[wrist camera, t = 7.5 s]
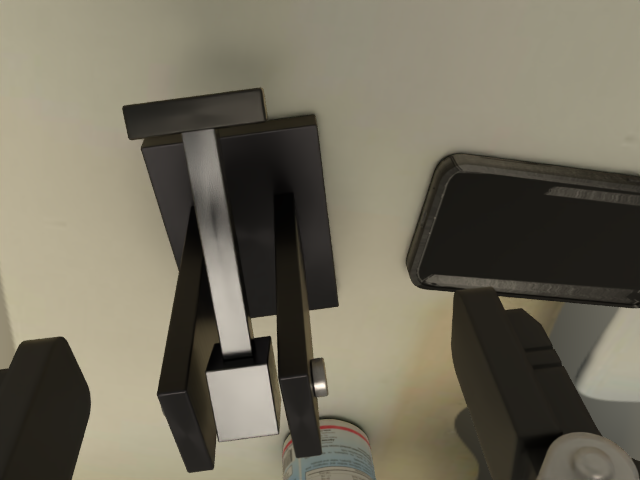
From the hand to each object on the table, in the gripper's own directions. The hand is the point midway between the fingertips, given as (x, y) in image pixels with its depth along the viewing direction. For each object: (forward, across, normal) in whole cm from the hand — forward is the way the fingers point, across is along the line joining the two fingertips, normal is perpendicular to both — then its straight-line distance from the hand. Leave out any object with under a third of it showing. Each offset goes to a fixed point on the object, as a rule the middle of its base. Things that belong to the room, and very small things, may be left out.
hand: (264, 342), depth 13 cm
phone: (+17, -14, +11) cm, 25 cm away
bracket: (+17, +2, +8) cm, 19 cm away
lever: (+9, +2, +4) cm, 10 cm away
